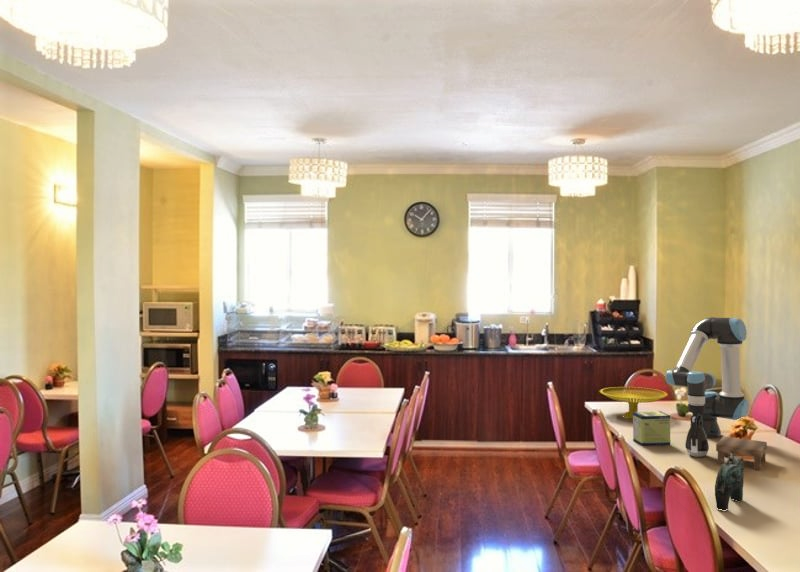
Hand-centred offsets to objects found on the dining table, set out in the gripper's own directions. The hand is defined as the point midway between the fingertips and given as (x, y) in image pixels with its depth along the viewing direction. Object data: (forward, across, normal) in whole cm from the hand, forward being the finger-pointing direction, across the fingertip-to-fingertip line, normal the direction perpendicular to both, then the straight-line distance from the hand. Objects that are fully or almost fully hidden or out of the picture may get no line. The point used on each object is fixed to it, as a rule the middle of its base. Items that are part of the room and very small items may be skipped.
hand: (697, 449), depth 286 cm
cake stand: (+3, -67, -50) cm, 84 cm away
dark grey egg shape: (+3, 0, 0) cm, 3 cm away
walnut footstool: (+3, 0, +19) cm, 19 cm away
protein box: (+3, -11, -24) cm, 27 cm away
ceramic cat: (+3, +60, +24) cm, 65 cm away
